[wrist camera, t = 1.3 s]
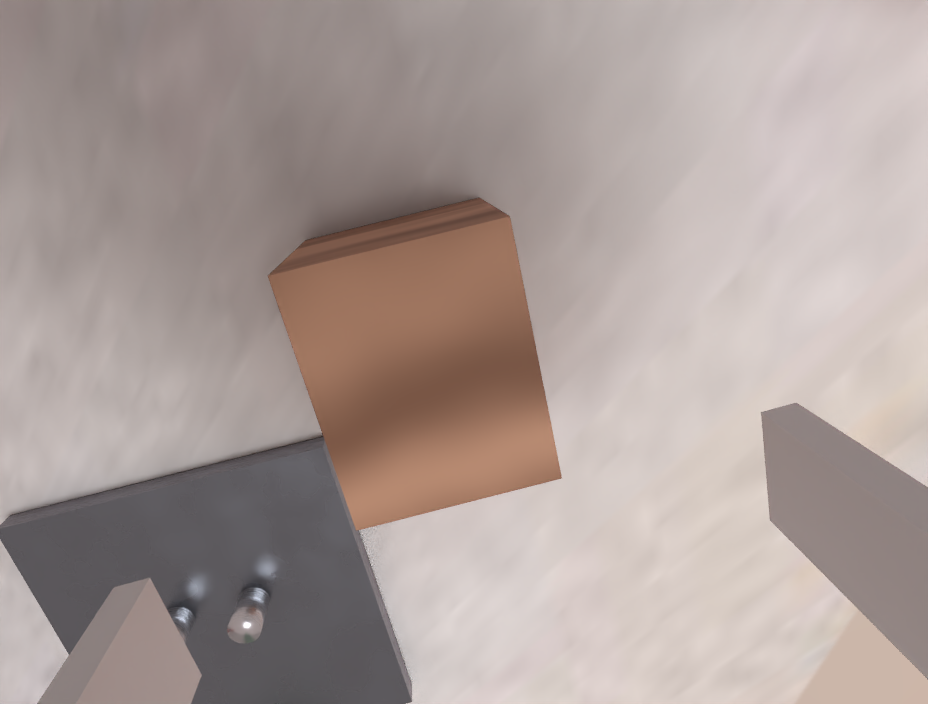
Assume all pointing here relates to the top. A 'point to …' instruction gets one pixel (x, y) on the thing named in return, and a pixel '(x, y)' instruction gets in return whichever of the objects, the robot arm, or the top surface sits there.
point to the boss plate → (229, 576)
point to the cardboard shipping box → (420, 360)
